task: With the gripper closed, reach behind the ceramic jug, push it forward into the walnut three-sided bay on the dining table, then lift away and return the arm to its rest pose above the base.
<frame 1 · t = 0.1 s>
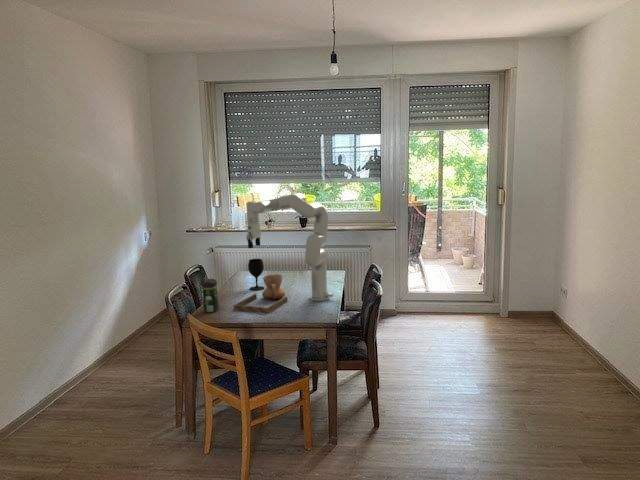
hand: (254, 246, 324), 31 cm above the table, tool pointing down, fingers open, 9 cm apart
walnut bay: (261, 305, 301), on the table
wine glass: (257, 289, 340), on the table
coffee jar: (211, 310, 294), on the table
ceramic jug: (273, 298, 316), on the table
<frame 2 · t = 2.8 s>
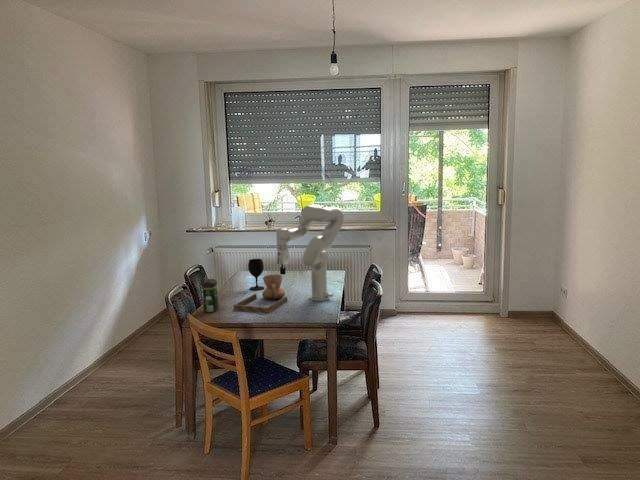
hand: (282, 274, 328), 12 cm above the table, tool pointing down, fingers closed
nothing on the table moved.
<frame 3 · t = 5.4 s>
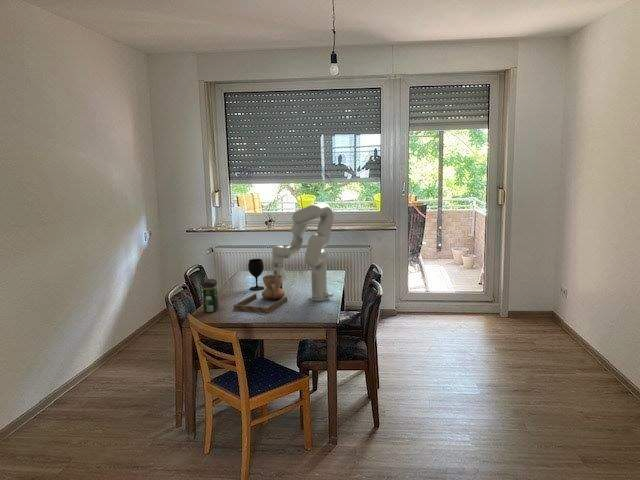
hand: (279, 292, 324), 2 cm above the table, tool pointing down, fingers closed
nothing on the table moved.
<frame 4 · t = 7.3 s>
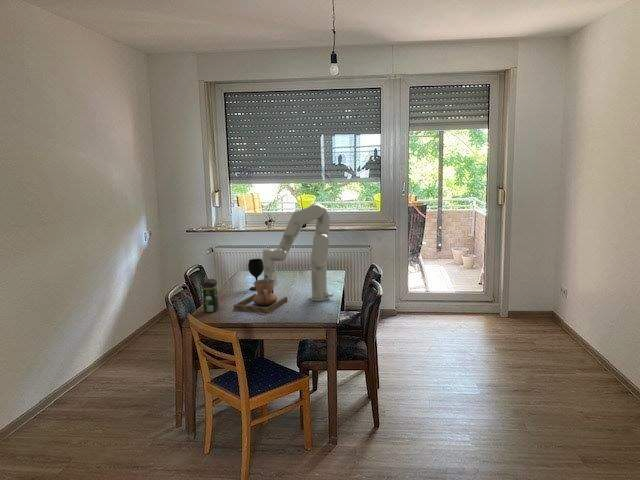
hand: (270, 297, 312), 2 cm above the table, tool pointing down, fingers closed
ceramic jug: (265, 304, 303), on the table, touching gripper
everything else where it was.
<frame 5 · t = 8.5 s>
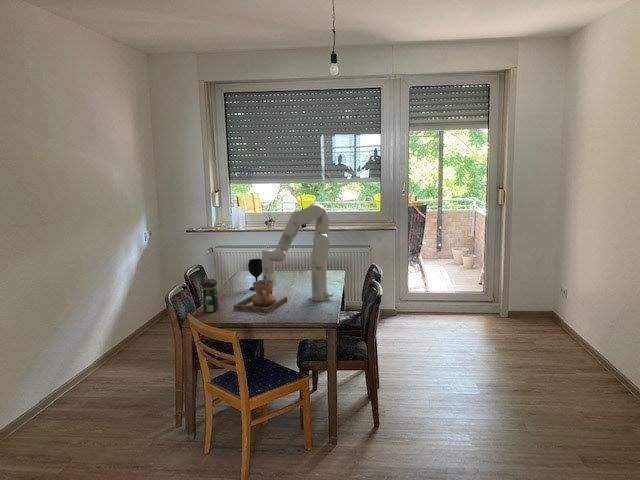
hand: (269, 298, 311), 2 cm above the table, tool pointing down, fingers closed
ceramic jug: (264, 305, 302), on the table
everything else where it was.
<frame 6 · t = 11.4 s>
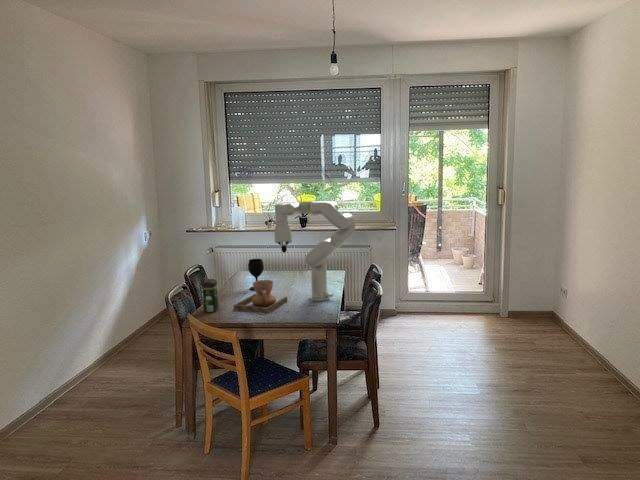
hand: (284, 252, 316), 29 cm above the table, tool pointing down, fingers closed
nothing on the table moved.
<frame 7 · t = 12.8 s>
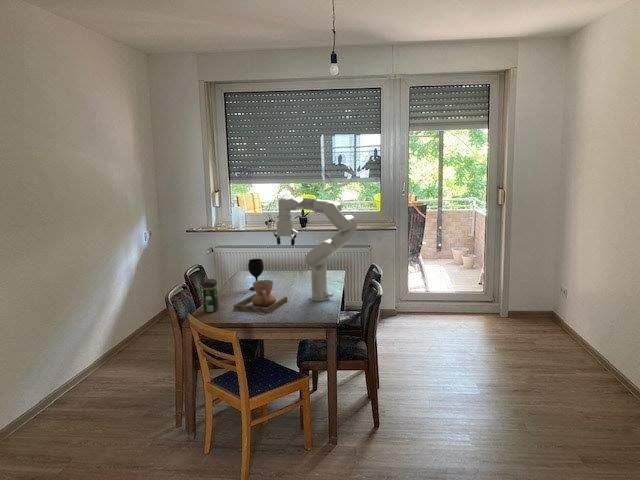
hand: (285, 244, 316), 33 cm above the table, tool pointing down, fingers open, 9 cm apart
nothing on the table moved.
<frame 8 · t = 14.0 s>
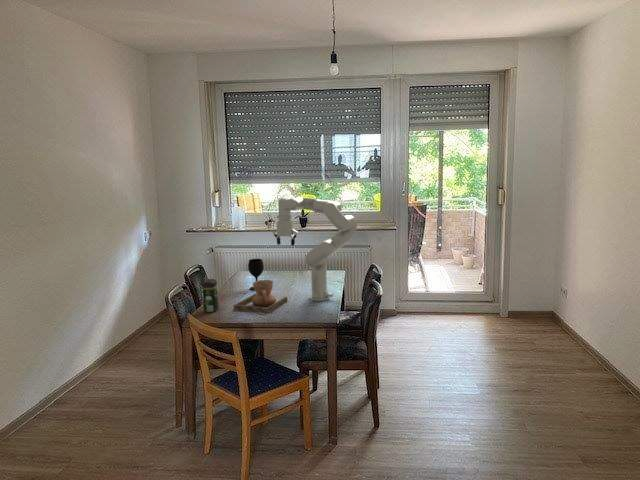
hand: (285, 244, 316), 33 cm above the table, tool pointing down, fingers open, 9 cm apart
nothing on the table moved.
at the end: ceramic jug inside the target area on the walnut bay (1.2 cm from its centre), point 0.0 cm above the walnut bay's base; ceramic jug tilted 0°; ceramic jug moved 14.9 cm from its start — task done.
